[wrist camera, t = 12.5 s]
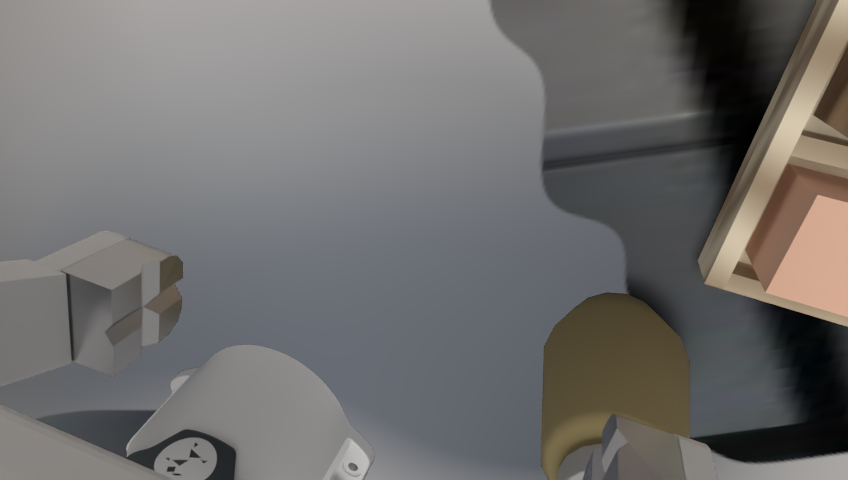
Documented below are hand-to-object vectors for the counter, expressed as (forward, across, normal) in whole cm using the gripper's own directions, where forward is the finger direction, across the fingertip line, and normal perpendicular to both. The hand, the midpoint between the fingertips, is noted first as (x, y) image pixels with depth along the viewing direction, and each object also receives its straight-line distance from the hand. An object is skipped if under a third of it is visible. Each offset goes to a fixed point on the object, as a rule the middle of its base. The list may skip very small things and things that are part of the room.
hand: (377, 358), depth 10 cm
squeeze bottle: (+26, +9, -12) cm, 30 cm away
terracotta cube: (+24, +16, -1) cm, 29 cm away
